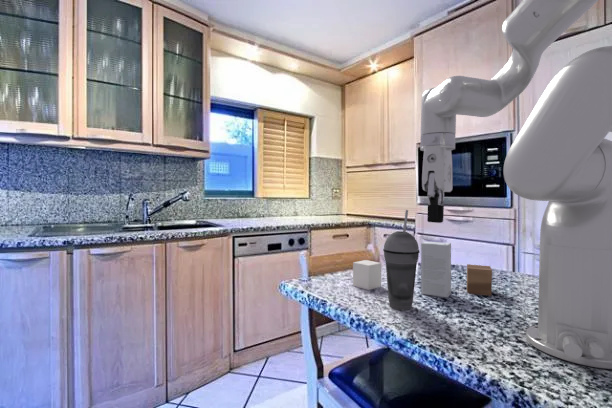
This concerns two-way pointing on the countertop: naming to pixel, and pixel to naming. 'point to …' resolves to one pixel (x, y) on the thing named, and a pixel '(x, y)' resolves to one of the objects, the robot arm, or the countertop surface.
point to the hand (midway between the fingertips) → (435, 222)
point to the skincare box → (436, 269)
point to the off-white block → (367, 274)
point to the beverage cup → (401, 267)
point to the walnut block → (479, 279)
